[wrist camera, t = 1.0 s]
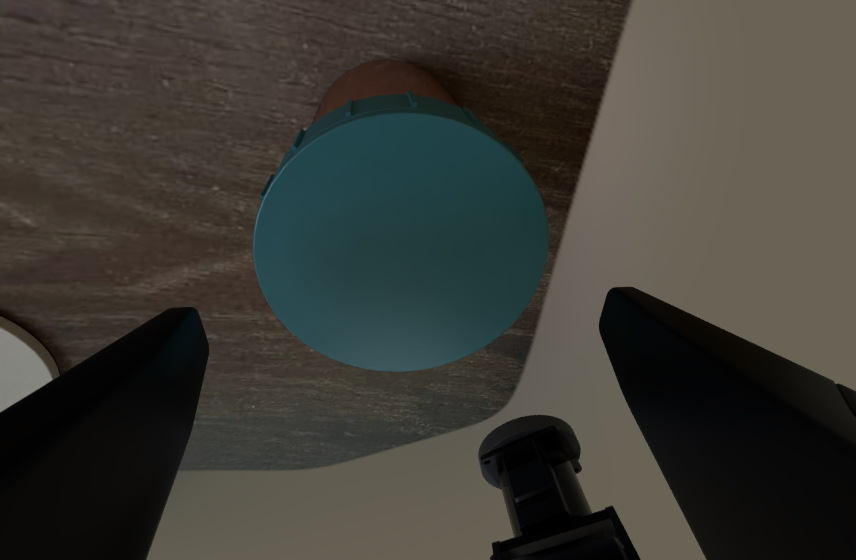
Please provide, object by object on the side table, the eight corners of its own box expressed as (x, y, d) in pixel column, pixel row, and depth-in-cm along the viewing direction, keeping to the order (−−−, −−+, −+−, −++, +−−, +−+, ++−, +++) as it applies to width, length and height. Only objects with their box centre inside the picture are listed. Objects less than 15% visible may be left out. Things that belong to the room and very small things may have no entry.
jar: (484, 164, 19) (565, 286, 11) (367, 230, 21) (366, 383, 13) (416, 26, 16) (462, 59, 8) (283, 112, 17) (209, 215, 9)
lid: (560, 261, 13) (587, 300, 11) (363, 360, 14) (362, 407, 12) (456, 29, 9) (475, 37, 8) (208, 186, 10) (179, 221, 9)
